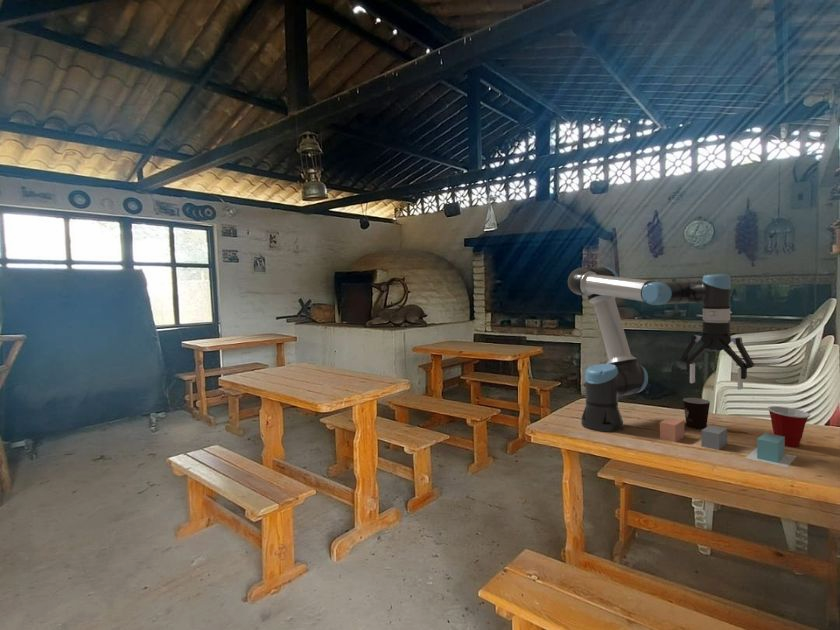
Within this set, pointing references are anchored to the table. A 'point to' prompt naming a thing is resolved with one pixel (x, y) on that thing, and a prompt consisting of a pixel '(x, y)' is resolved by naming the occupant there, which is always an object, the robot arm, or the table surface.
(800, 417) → the plastic cup
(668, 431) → the terracotta brick
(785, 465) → the baseplate
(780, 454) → the teal base brick
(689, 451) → the table surface
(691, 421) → the coffee mug
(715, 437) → the charcoal brick
